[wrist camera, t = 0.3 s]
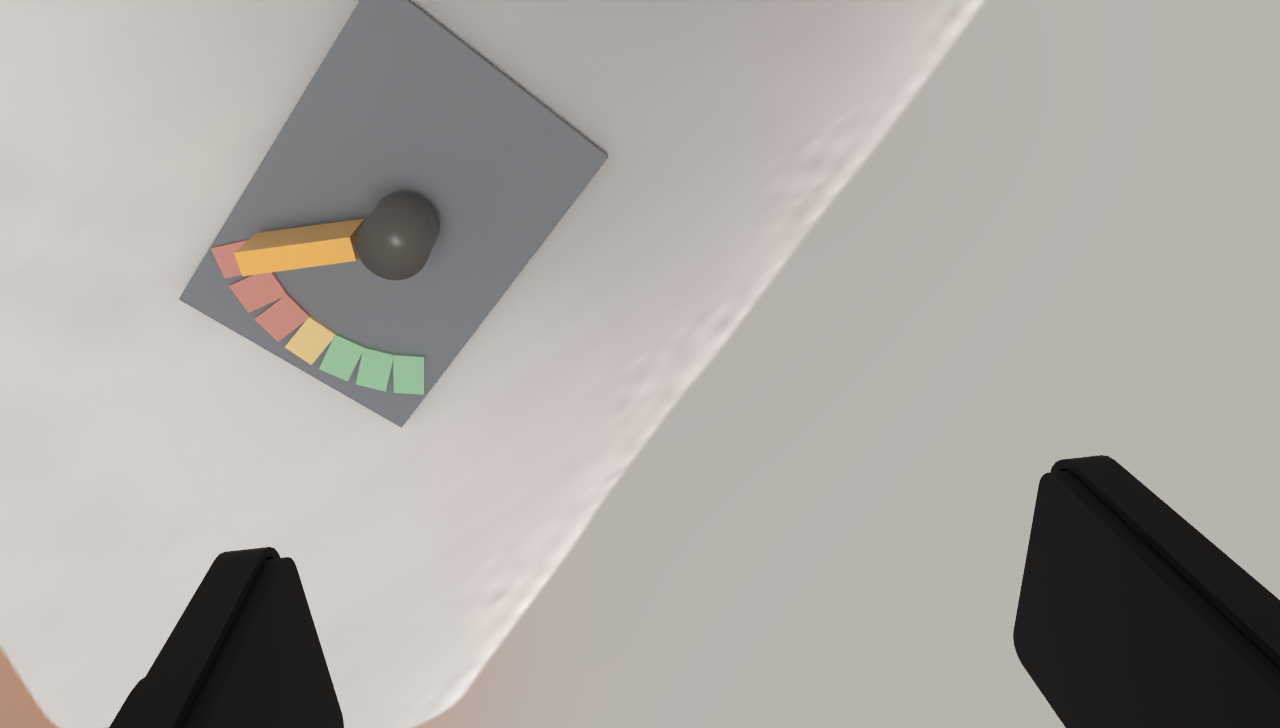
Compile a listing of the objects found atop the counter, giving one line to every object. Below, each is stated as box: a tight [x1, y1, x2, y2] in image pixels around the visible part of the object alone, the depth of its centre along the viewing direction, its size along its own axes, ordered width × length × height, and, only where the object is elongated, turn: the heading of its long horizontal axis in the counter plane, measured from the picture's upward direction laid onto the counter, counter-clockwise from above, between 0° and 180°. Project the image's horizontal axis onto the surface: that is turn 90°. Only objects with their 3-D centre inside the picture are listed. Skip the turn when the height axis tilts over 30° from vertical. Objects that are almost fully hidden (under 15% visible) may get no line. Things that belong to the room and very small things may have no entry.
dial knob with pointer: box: [234, 191, 440, 280], centre depth 40 cm, size 9×3×4 cm, turn 97°
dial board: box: [179, 0, 608, 428], centre depth 43 cm, size 20×14×1 cm
